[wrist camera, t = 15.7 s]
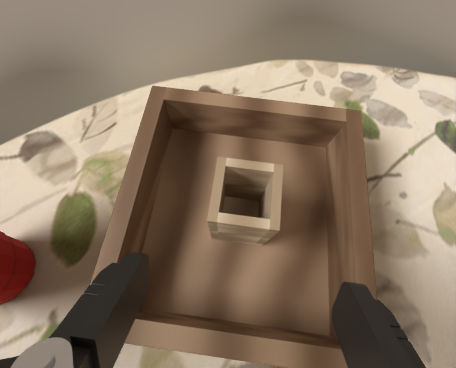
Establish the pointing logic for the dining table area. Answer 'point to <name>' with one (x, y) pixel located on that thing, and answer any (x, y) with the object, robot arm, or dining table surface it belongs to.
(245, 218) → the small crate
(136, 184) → the crate
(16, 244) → the plastic cup
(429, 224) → the dining table surface
